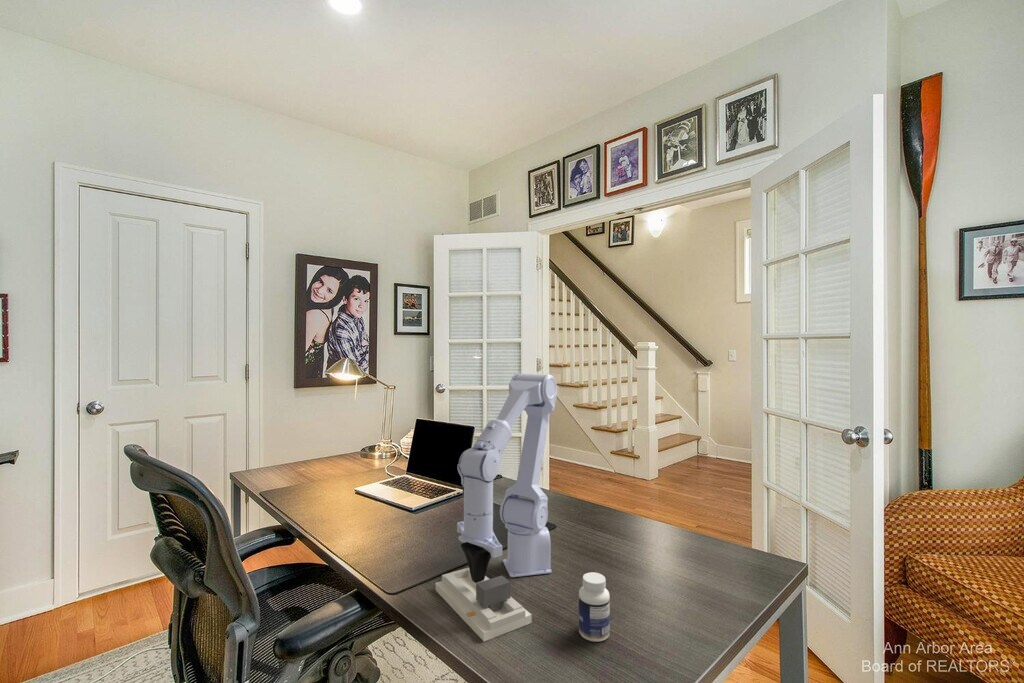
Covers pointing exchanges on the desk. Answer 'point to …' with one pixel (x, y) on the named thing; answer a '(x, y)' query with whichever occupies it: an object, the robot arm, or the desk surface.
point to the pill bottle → (594, 608)
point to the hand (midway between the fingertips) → (478, 580)
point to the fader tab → (493, 592)
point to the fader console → (480, 607)
